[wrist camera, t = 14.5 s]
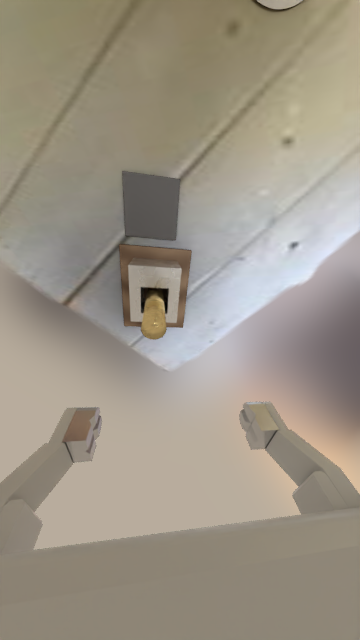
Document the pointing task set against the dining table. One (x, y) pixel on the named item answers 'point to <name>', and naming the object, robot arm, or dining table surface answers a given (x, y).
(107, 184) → the dining table surface
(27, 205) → the dining table surface
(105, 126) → the dining table surface
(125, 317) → the walnut base
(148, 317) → the brass pin
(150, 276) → the block
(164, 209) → the rubber mat
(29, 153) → the dining table surface
